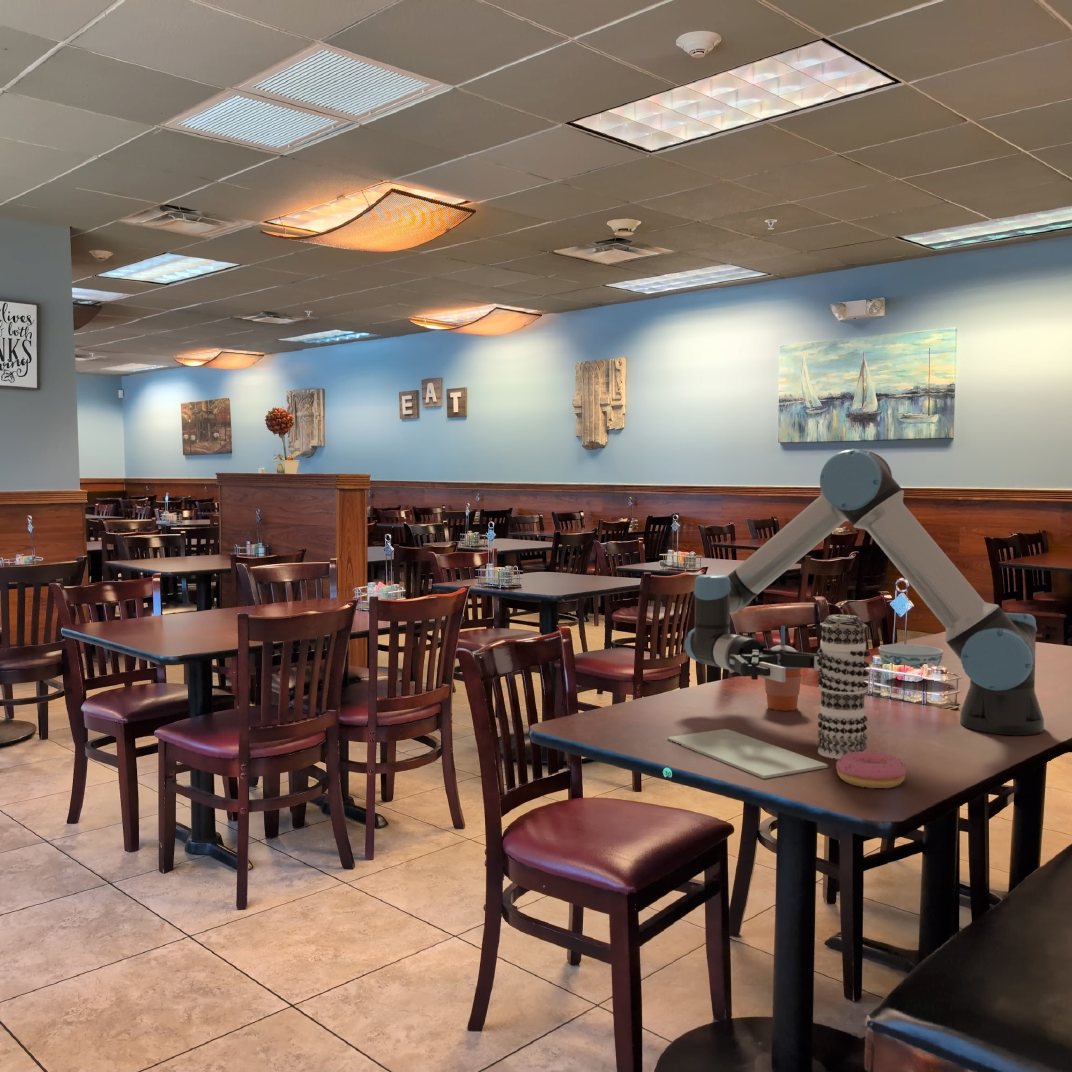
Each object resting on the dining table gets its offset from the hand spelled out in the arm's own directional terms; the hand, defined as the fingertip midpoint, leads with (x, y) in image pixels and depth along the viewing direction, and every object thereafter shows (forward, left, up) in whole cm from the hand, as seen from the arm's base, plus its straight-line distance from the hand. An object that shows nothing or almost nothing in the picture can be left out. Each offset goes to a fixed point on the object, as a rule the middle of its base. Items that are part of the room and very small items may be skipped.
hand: (812, 671), depth 182 cm
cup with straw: (+7, -29, -14) cm, 33 cm away
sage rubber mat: (+12, +10, -14) cm, 21 cm away
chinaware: (-20, -70, -14) cm, 74 cm away
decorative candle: (-5, +5, -14) cm, 16 cm away
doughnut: (-10, +20, -14) cm, 27 cm away
